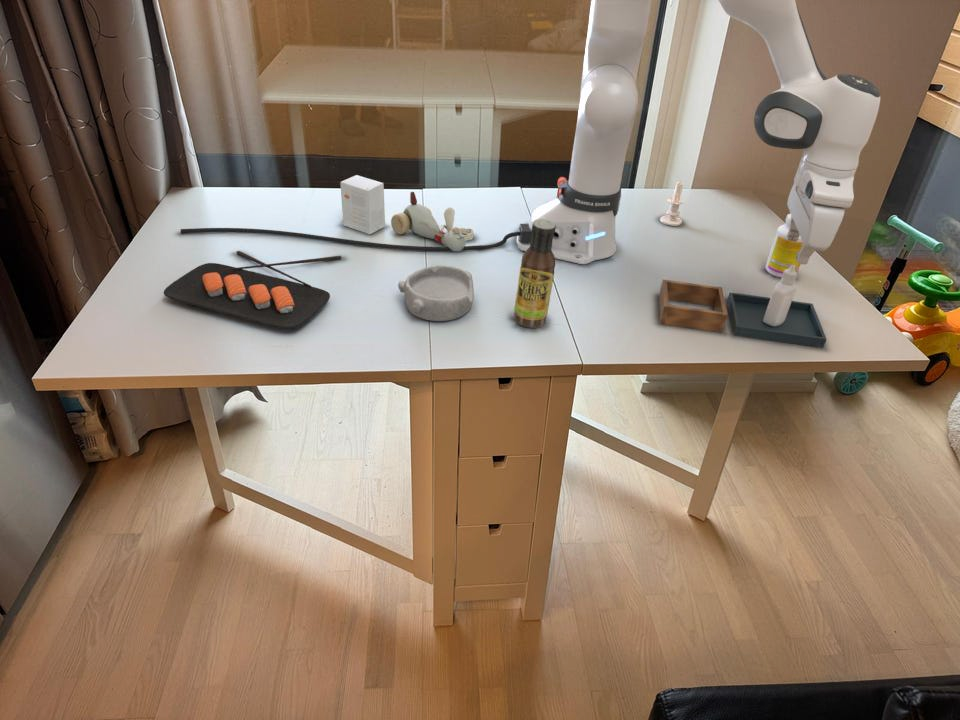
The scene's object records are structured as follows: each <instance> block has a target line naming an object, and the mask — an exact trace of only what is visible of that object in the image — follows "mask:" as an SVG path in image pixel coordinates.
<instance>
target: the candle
mask: <svg viewBox="0 0 960 720" xmlns="http://www.w3.org/2000/svg"><path fill="white" fill-rule="evenodd" d="M682 190H683V183H682V182H681V181H677V182H676V183H675V187H674V192H673V196H672V197H669V198H667V202H668V203H669V204H670V205H669V207H668V208H669V209H667V210H666V212H665V215H661V216H660V219H659V220H660V222H661V223H662V224H664V225H666V226H669V227H679V226H680V225H682V223H683V220H682V218H680V217H679V216H680V211H679V209H680V206H681V205H683V204H684V200H683V199H681V197H682V196H681V195H682Z"/></svg>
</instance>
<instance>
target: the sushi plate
mask: <svg viewBox="0 0 960 720" xmlns="http://www.w3.org/2000/svg"><path fill="white" fill-rule="evenodd" d="M236 255H238V256H240V257H242V258H245V259H247V260H249V261H251V262H254V263H256V264H257V265H248V266H247V265H246V266H240V267H239V266H238V267H236V266H231V265H227V264H223V263H216V262H207V263H203V264H201V265H199V266H197V267H194V268H193V269H191V270H190V271H188V272H186V273H185V274H183V275H182V276H180V277H179V278H178V279H176V280H174V281H173V282H171V283H170V284H169V285H167V286H166V287H165V289H164V290H163V295H164V296H165V297H166V298H168V299H170V300H173V301H176V302H180V303H183V304H187V305H191V306H194V307H198V308H201V309H202V308H203V309H206V310H209V311H213V312H217V313H220V314H224V315H229V316H231V317H236V318H239V319H243V320H247V321H251V322H254V323H258V324H262V325H266V326H269V327H272V328H273V327H274V328H279V329H284V330H292V329H293V330H294V329H296V328H299V327H301V326H302V325H304V324H305V323H306V322H308V321H309V320H310V319H311V318H312V317H314V315H316V314H317V313H318V312H319V311H320V310H321V309H322V308H323V307H324V306H325V305H326V304H327V303H328V301H330V298H331V294H330V292H328V291H327V290H325V289H322V288H319V287H315V286H312V285H310V284H308V283H306V282H304V281H302V280H300V279H298V278H296V277H294V276H291V275H290V274H287V273H286V272H284V271H282V270H279V269H277V268H276V267H275V266H285V265H296V264H307V263H309V264H310V263H318V262H319V263H320V262H329V261H337V260H338V261H339V260H342V256H341V255H337V256H336V255H335V256H326V257H325V256H324V257H316V258H309V259H301V260H292V261H291V260H290V261H283V262H275V263H265V262H263V261H261V260H259V259H257V258H255V257H253V256H251V255H249V254H247V253H245V252H243V251H241V250H236ZM256 268H266V269H270V270H272V271H274V272H275V273H279V274H281V275H283V276H285V277H287V278H289V279H290V280H288V279H284V278H279V277H275V276H272V275H268V274H263V273H260V272H257V271H251V270H248V269H256ZM292 280H294V281H292Z"/></svg>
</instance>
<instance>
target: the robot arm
mask: <svg viewBox="0 0 960 720" xmlns="http://www.w3.org/2000/svg"><path fill="white" fill-rule="evenodd" d="M718 2H719V4H720V5H721V7H722V9H723V11H724V12H725V13H726V15H728V16H729V17H730V18H732V19H734V20H736V21H738V22H741V23H743V24H745V25H747V26H749V27H750V28H752V29H754V30H755V32H757V33H758V34H759V35H760V36H761V37H762V39H763V40H764V42H765V44H766V46H767V49H768V51H769V55H770V58H771V60H772V63H773V66H774V68H775V71H776V74H777V77H778V80H779V84H780V88H779V89H777V90H775V91H773V92H770V93H769V94H767V95H766V96H765V97H763V99H762V100H761V101H760V102H759V103H758V105H757V107H756V109H755V112H754V116H753V125H754V129H755V133H756V135H757V136H758V138H759V139H760V140H761V141H762V142H763V143H764V144H766V145H768V146H770V147H774V148H780V149H789V150H802V155H801V158H800V161H799V164H798V167H797V170H796V172H795V175H794V178H793V185H792V187H791V189H790V192H789V193H788V197H787V202H786V206H787V208H788V211H789V214H790V213H791V218H790V226H789V231H788V234H787V238H788V240H789V241H795V242H796V241H797V240H798V238H799V236H801V239H802V241H803V243H802V248H801V250H800V251H798V253H797V256H796V261H797V263H798V264H800V265H804V266H805V265H807V264H808V263H809V260H810V257H811V256H812V255H813V254H814V253H815V252H816V251H822V252H825V251H826V250H828V249H829V248H830V247H831V245H832V243H833V241H834V239H835V237H836V235H837V233H838V231H839V228H840V227H841V224H842V222H843V219H844V216H845V211H846V209H850V208H851V206H852V205H853V202H854V199H855V194H854V180H855V175H856V172H857V169H858V167H859V162H860V160H859V159H860V155H861V152H862V150H863V149H864V147H865V146H866V145H867V144H868V142H869V139H870V137H871V135H872V131H873V128H874V126H875V123H876V120H877V117H878V114H879V109H880V104H881V92H880V90H879V89H878V87H877V86H876V85H874V83H872V82H871V81H869V80H867V79H865V78H864V77H861V76H859V75H855V74H854V75H853V74H851V73H850V74H849V73H839V74H836V75H835V76H833V77H830V78H828V77H827V76H826V75H825V74H824V73H823V71H822V69H821V68H820V66H819V63H818V62H817V59H816V56H815V53H814V50H813V48H812V44H811V42H810V39H809V36H808V33H807V30H806V27H805V23H804V21H803V18H802V16H801V13H800V10H799V8H798V6H797V2H796V0H718ZM651 7H652V0H590V7H589V8H590V9H589V17H588V25H587V35H586V42H585V50H584V56H583V66H582V73H581V81H580V95H579V96H580V97H579V106H578V112H577V121H576V125H575V134H574V140H573V146H572V153H571V160H570V168H569V174H568V180H567V178H566V177H565V176H559V178H558V179H557V183H556V185H557V193H556V196H555V197H553V198H552V199H550V200H548V201H546V202H544V203H542V204H540V205H539V206H537V207H536V208H534V210H533V212H532V214H531V215H530V217H529V220H528V222H526V223H519V227H518V231H514V232H510V233H508V234H506V235H504V237H503V239H502V240H500V241H498V242H496V243H492V244H482V245H481V244H480V245H465V247H464V248H463V249H462V250H460V251H459V252H463V251H464V252H465V251H479V250H489V249H493V248H497V247H501V246H503V245H505V244H506V243H507V241H508V240H509V239H510V238H514V237H516V240H515V242H516V243H515V244H516V246H517V248H518V249H519V250H520V251H523V252H526V250H527V249H528V248H529V247H530V243H531V238H532V225H533V222H534V221H535V220H538V219H546V220H550V221H552V222H554V223H555V225H556V229H555V233H554V235H553V241H552V249H551V250H552V252H553V254H554V257H555V260H556V259H557V260H560V261H565V262H569V263H570V262H571V263H575V264H579V265H587V264H589V263H592V262H594V261H599V260H604V259H608V258H610V257H612V256H613V255H614V254H615V253H616V252H617V242H616V220H617V215H618V212H619V209H620V204H621V199H622V187H621V184H622V178H623V173H624V167H625V162H626V157H627V152H628V148H629V144H630V140H631V137H632V133H633V129H634V124H635V119H636V114H637V110H638V106H639V93H638V86H637V85H638V84H637V83H638V82H637V81H638V74H639V68H640V63H641V58H642V53H643V50H644V45H645V40H646V36H647V32H648V26H649V20H650V14H651ZM198 233H245V234H261V235H262V234H263V235H274V236H275V235H276V236H284V237H292V238H293V237H294V238H303V239H309V240H317V241H324V242H331V243H340V244H347V245H354V246H362V247H371V248H379V249H380V248H381V249H390V250H401V251H403V250H404V251H419V252H420V251H421V252H425V251H426V252H454V251H453V250H451V249H450V248H449V247H446V246H423V245H422V246H421V245H420V246H419V245H403V244H392V243H391V244H389V243H379V242H371V241H362V240H355V239H348V238H347V239H346V238H339V237H333V236H332V237H331V236H324V235H319V234H318V235H317V234H312V233H311V234H310V233H303V232H292V231H286V230H285V231H284V230H275V229H264V228H263V229H260V228H248V227H247V228H246V227H199V228H198V227H197V228H196V227H195V228H180V234H198Z"/></svg>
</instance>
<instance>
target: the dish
mask: <svg viewBox="0 0 960 720" xmlns="http://www.w3.org/2000/svg"><path fill="white" fill-rule="evenodd" d="M397 286H398V290H399V291H400V293H403V294H404V300H405V301H404V302H405V305H406V308H407V309H408V311H409V312H410V313H411V314H412V315H414V316H416V317H417V318H420V319H423V320H426V321H433V322H445V321H446V322H447V321H452V320H455V319H458V318H460V317H462V316H464V315H466V314H467V313H468V312H469V310H470V309H471V307H472V305H473V303H474V297H475V294H474V292H475V289H474V280H473V275H472V273H471V271H470V270H468V269H467V270H465V269H462V268H460V267H456V266H452V265H443V264H442V265H441V264H438V265H435V266H432V265H431V266H426V267H423V268H421V269H418V270H416V271H414V272H412V273H411V274H409V275H408V276H407V277H406V279H405V280H399V281H398V284H397Z"/></svg>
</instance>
